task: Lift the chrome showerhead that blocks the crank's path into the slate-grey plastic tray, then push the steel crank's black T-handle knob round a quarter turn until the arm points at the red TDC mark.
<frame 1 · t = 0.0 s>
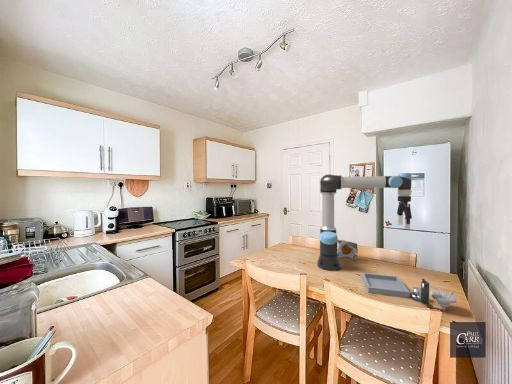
hand: (403, 226, 147), 28 cm above the table, fingers open, 13 cm apart
tray: (383, 286, 121), on the table
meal: (346, 258, 166), on the table
crank: (421, 288, 104), point 8 cm above the table, hinge at 0.0°
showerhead: (443, 308, 100), on the table
crank base: (417, 298, 108), on the table
tdc mark: (445, 302, 105), on the table
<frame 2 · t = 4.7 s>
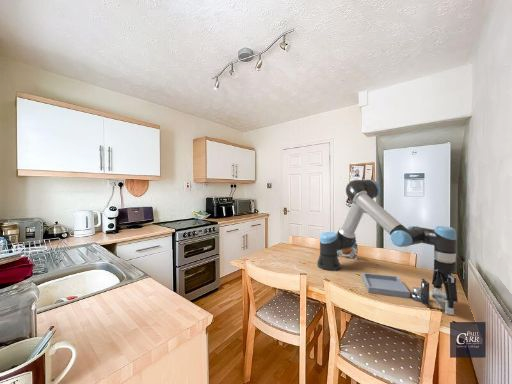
hand: (443, 307, 100), 0 cm above the table, fingers closed on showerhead, 9 cm apart
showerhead: (443, 308, 100), on the table, touching gripper
everything else where it was.
when the fingers open (3 cm above the table, at t = 11.5 s): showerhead drops 3 cm, resting on tray.
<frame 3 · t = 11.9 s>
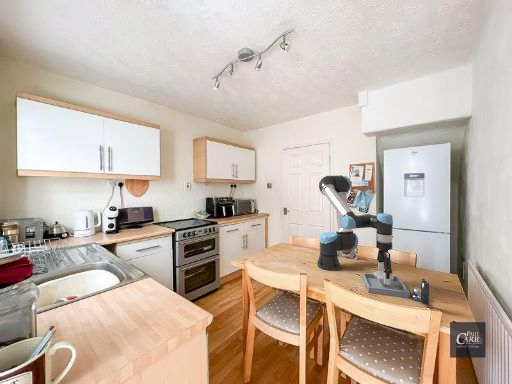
hand: (383, 278, 120), 5 cm above the table, fingers open, 13 cm apart
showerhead: (383, 285, 121), resting on tray
everything else where it was.
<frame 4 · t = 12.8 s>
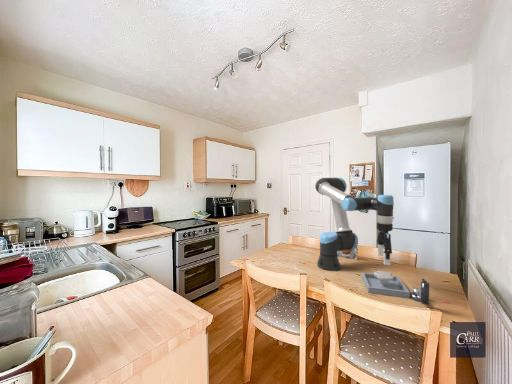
hand: (383, 260, 120), 15 cm above the table, fingers open, 13 cm apart
nothing on the table moved.
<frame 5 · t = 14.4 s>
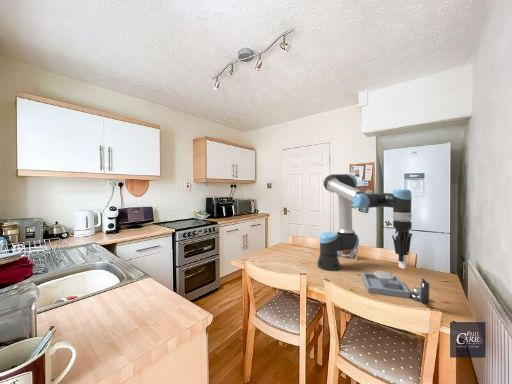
hand: (402, 267, 107), 16 cm above the table, fingers closed
nothing on the table moved.
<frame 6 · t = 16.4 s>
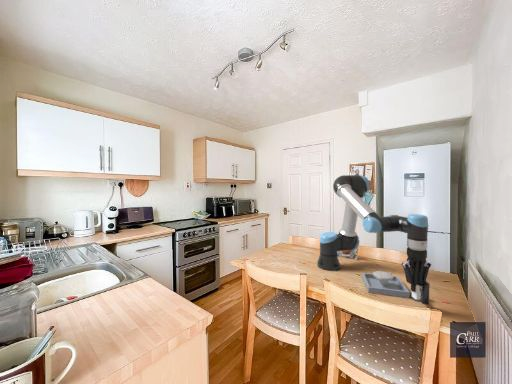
hand: (415, 298, 100), 5 cm above the table, fingers closed
crank: (421, 288, 104), point 7 cm above the table, hinge at 0.4°, touching gripper
everything else where it was.
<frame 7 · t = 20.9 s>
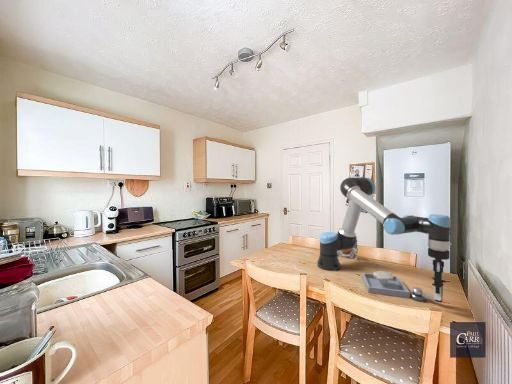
hand: (437, 299, 98), 5 cm above the table, fingers closed
crank: (428, 287, 105), point 7 cm above the table, hinge at 60.3°, touching gripper
everything else where it was.
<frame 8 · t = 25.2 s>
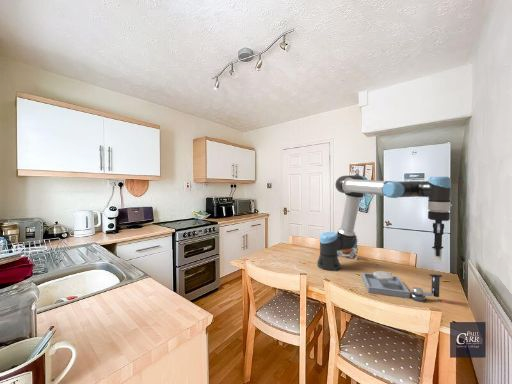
hand: (437, 262, 97), 22 cm above the table, fingers closed
crank: (427, 284, 107), point 8 cm above the table, hinge at 98.8°
everything else where it was.
at the end: crank at +99° (first picture: +0°); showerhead inside the target area on the tray (0.3 cm from its centre), point 0.4 cm above the tray's base; the gripper is holding nothing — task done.
